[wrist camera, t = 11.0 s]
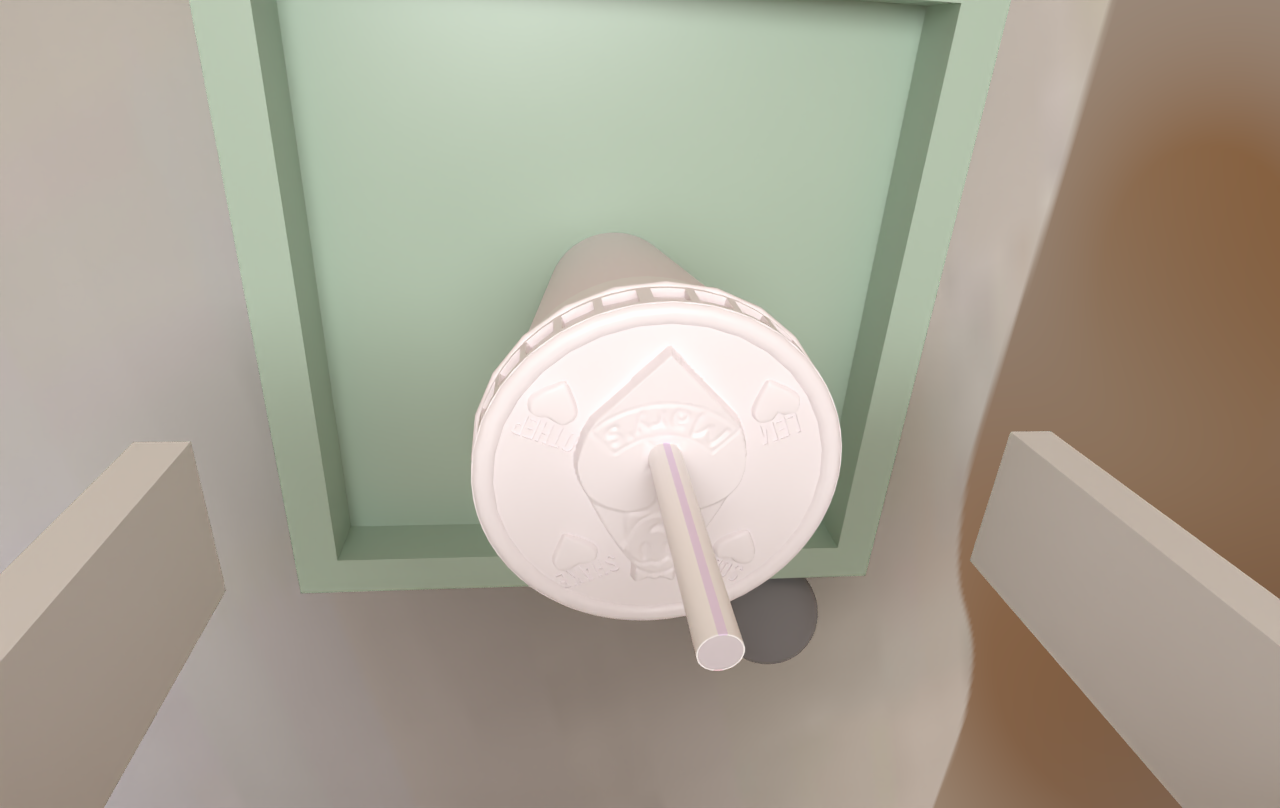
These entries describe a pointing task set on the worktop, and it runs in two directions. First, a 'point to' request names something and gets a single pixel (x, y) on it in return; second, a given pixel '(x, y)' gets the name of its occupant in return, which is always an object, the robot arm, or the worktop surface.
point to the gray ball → (776, 619)
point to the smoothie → (652, 445)
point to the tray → (570, 223)
